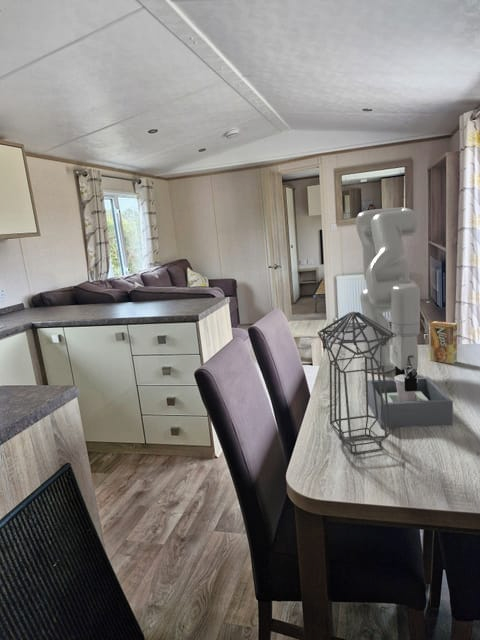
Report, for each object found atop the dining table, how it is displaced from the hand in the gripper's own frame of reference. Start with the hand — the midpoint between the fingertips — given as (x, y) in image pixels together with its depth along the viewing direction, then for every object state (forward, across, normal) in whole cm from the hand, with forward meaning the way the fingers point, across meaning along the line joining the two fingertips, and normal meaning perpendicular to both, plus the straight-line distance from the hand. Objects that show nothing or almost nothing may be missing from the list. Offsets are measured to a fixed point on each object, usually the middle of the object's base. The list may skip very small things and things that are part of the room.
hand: (405, 384), depth 128 cm
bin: (+8, 0, 0) cm, 9 cm away
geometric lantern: (+8, +18, -17) cm, 26 cm away
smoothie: (+8, 0, 0) cm, 8 cm away
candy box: (+10, -44, +27) cm, 53 cm away
